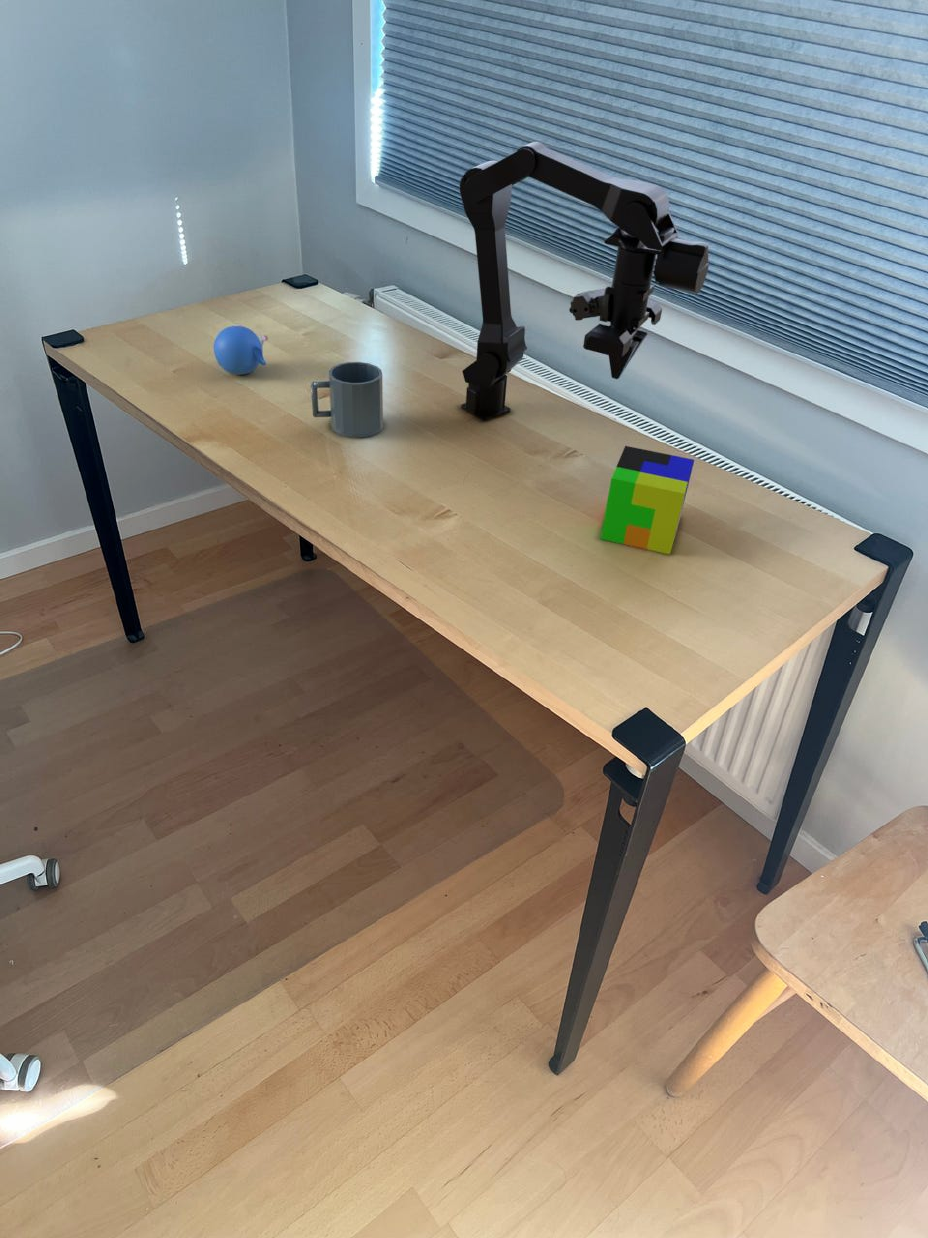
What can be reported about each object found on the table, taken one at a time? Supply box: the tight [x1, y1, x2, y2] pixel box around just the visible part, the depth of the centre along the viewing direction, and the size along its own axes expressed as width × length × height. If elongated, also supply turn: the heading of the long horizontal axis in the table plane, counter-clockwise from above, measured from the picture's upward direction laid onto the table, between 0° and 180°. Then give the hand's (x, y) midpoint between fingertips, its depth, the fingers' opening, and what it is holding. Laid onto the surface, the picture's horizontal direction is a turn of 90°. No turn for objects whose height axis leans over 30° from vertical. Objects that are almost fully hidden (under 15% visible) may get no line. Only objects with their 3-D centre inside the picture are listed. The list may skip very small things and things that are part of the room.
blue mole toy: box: [213, 325, 269, 376], centre depth 163 cm, size 12×12×8 cm
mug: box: [310, 361, 384, 439], centre depth 147 cm, size 12×9×10 cm
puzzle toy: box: [600, 445, 695, 555], centre depth 127 cm, size 10×10×10 cm
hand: (615, 377), depth 142 cm, fingers closed
